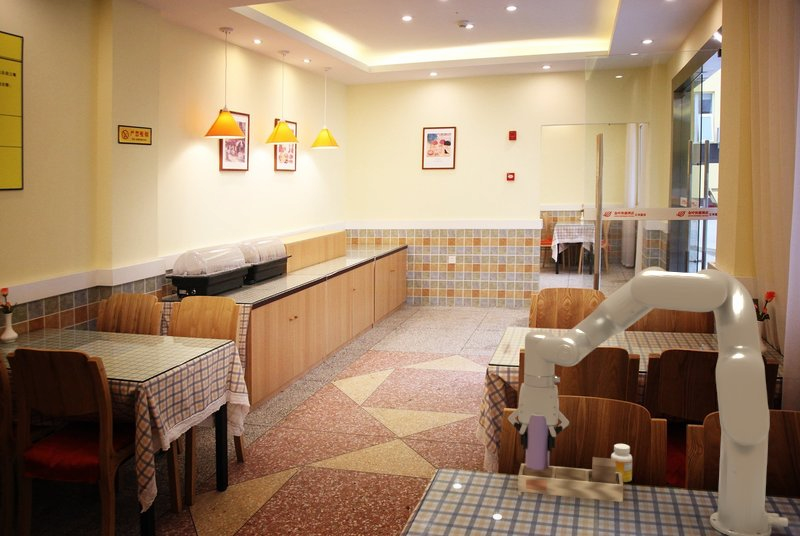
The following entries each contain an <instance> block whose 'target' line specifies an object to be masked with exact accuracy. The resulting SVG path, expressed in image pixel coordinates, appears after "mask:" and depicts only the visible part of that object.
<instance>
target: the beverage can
mask: <svg viewBox="0 0 800 536" xmlns="http://www.w3.org/2000/svg"><path fill="white" fill-rule="evenodd" d="M549 436H550V430H549V426H548V425H547V423H546V418H545V417H544V414H532V416H531V417H530V421H529V424H527V427H526V449H525V464H526V467H527V468H528V469H529V470H531V471H535V472H543V471H546V470H547V469H548V468H549V466H550V453H551V452H550V451H549Z"/></svg>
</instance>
